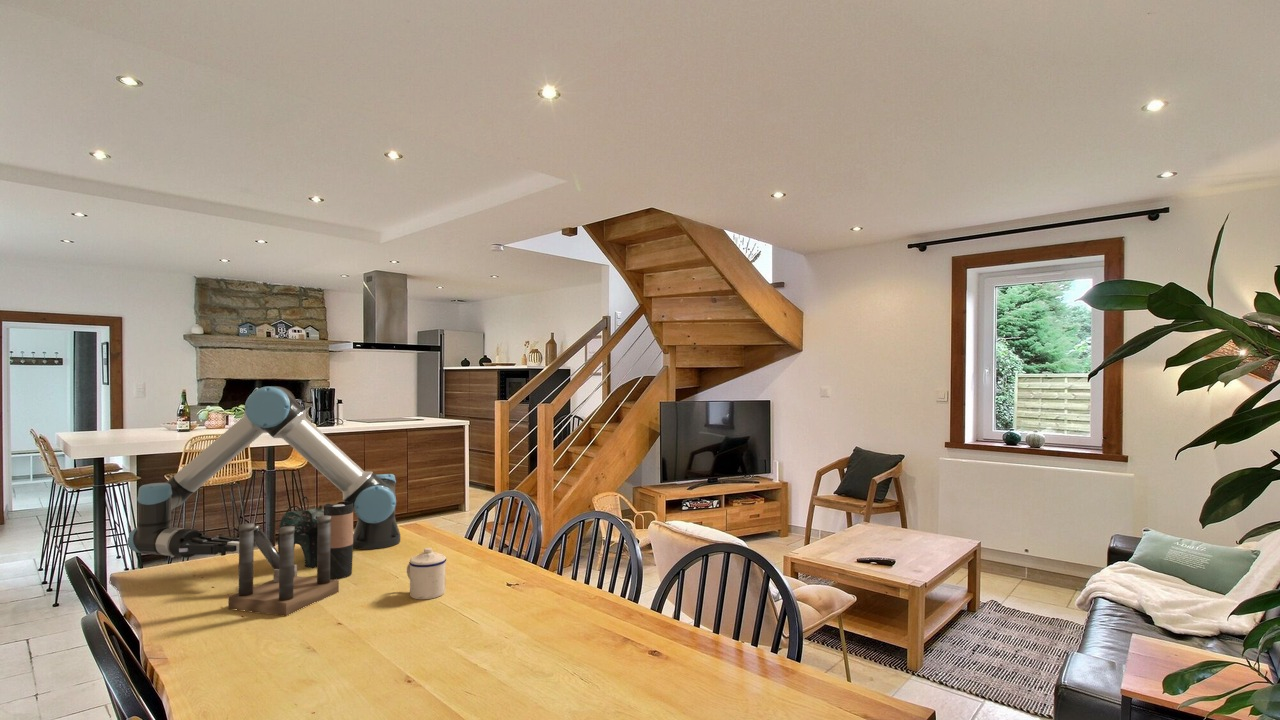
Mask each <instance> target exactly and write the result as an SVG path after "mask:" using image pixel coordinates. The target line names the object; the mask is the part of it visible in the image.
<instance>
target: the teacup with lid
mask: <svg viewBox="0 0 1280 720" xmlns="http://www.w3.org/2000/svg"><path fill="white" fill-rule="evenodd" d="M446 562H447V557H446V556H445V555H444V554H442V553H438V552H436V551H433V549H432V547H426V548H424V549H423V552H421V553H419V554H418V555H417V554H416V555H414V556H413V557H411V558H410V559H409V561H408V564H407V565H406V574H407V578H408V579H409V596H410V597H411V598H413V599H414V600H415V599H416V600H431V599H436V598H439V597H441V596H443V595H444V594H445V593H446Z"/></svg>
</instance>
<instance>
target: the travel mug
mask: <svg viewBox="0 0 1280 720" xmlns="http://www.w3.org/2000/svg"><path fill="white" fill-rule="evenodd" d="M323 510H324V516H331V534H330V580H341V579H345V578H348V577H350V576H351V575H353V574H352V573H353V558H354V557H353V555H354V554H353V553H354V552H353V551H354V547H353V534H354V509H353V503H352V502H345V501H338V502H337V503H335V504H334V503H333V504H331V503H330V502H328V503H325V504H324V505H323Z"/></svg>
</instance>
